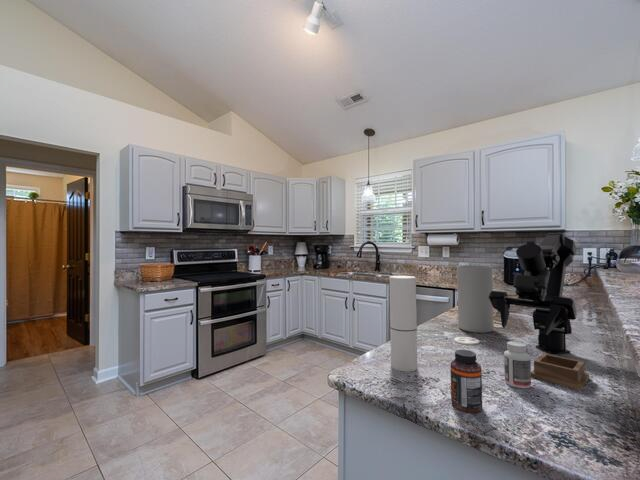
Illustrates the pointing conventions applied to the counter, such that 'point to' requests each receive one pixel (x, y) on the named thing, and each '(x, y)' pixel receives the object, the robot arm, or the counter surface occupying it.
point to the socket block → (560, 371)
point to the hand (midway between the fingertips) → (523, 330)
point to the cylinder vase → (475, 298)
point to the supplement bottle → (466, 382)
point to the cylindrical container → (403, 323)
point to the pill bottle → (517, 365)
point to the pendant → (467, 340)
